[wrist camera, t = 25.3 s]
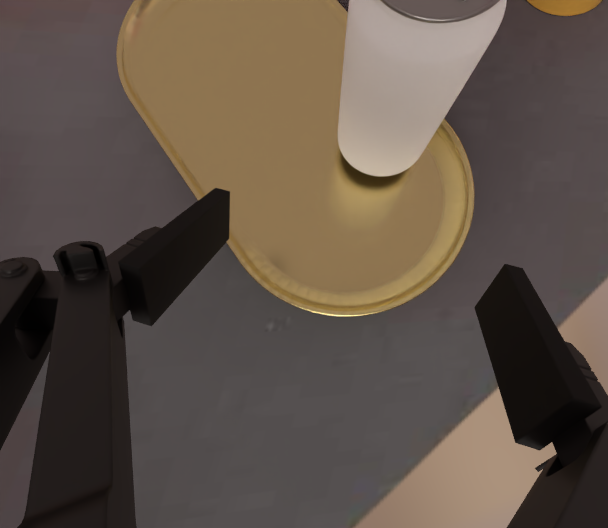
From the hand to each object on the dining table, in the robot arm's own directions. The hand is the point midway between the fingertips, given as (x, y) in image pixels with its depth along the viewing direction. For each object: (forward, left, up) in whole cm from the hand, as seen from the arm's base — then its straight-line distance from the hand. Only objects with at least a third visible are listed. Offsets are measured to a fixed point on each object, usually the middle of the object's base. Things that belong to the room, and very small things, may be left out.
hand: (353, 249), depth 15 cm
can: (+1, -10, -7) cm, 13 cm away
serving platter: (+9, -10, -9) cm, 16 cm away
